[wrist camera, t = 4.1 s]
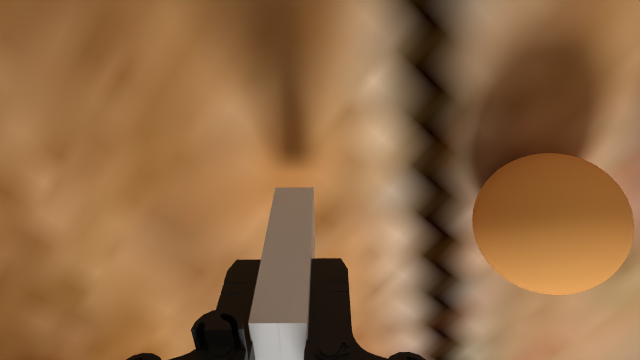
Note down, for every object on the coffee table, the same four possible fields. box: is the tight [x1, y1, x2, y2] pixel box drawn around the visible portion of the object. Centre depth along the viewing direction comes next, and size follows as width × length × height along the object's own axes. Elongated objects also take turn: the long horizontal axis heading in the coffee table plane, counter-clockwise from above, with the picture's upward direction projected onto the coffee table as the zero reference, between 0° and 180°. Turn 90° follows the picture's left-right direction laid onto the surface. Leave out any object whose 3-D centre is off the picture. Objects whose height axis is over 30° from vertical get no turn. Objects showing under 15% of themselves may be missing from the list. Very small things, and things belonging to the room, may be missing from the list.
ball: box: [473, 153, 634, 295], centre depth 16 cm, size 6×6×6 cm
